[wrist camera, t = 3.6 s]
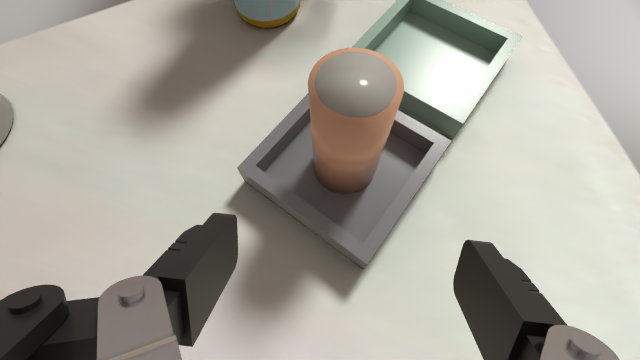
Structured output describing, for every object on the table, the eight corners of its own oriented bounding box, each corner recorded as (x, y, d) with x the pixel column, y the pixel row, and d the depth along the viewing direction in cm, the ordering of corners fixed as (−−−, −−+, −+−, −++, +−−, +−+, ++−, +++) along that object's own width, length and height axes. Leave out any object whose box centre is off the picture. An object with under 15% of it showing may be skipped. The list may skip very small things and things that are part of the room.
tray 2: (451, 139, 28) (463, 123, 25) (341, 76, 31) (342, 56, 28) (507, 56, 31) (522, 36, 29) (404, 7, 34) (410, -15, 32)
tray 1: (362, 269, 23) (367, 264, 21) (244, 180, 26) (237, 167, 24) (440, 155, 27) (451, 140, 25) (329, 89, 30) (329, 70, 28)
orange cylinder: (352, 206, 25) (369, 140, 15) (300, 170, 26) (288, 90, 17) (387, 159, 26) (422, 74, 17) (337, 127, 28) (344, 33, 18)
